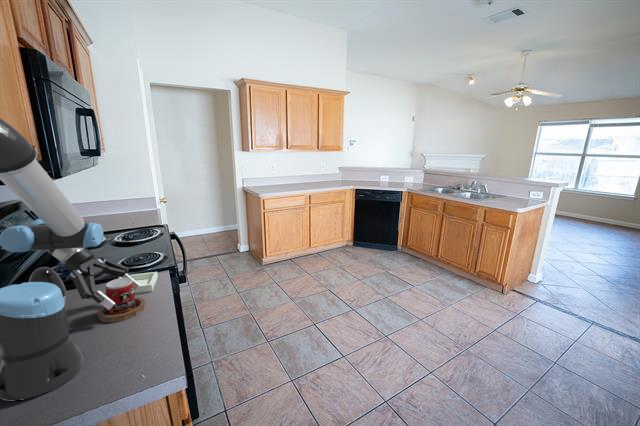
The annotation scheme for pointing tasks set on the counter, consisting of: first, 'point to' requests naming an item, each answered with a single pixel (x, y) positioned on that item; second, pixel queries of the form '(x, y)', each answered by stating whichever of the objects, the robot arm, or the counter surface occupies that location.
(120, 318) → the collar ring
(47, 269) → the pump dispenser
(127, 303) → the canned food
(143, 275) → the tray
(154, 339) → the counter surface
